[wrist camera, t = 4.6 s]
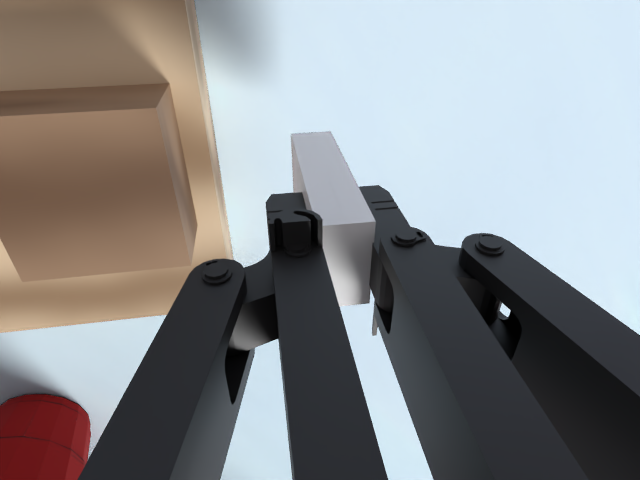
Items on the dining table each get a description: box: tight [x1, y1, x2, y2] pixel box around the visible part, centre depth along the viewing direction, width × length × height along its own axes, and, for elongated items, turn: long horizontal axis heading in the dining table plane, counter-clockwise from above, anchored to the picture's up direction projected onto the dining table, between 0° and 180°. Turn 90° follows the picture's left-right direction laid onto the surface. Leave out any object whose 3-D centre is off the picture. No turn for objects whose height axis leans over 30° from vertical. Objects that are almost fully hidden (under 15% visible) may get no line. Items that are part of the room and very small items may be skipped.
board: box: [0, 0, 234, 333], centre depth 18 cm, size 16×14×3 cm
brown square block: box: [0, 83, 198, 282], centre depth 16 cm, size 6×6×3 cm
